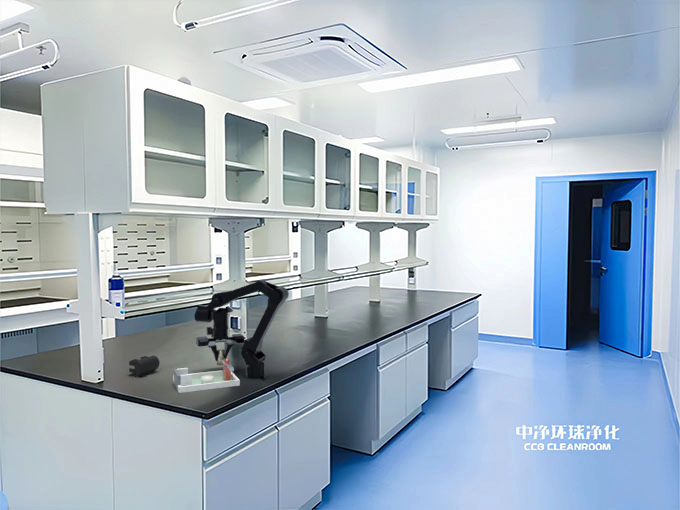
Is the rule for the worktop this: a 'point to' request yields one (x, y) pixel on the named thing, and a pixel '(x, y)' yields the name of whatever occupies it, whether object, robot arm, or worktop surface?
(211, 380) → the puck
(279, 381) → the worktop surface
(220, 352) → the cylinder
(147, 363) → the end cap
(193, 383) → the pitch
